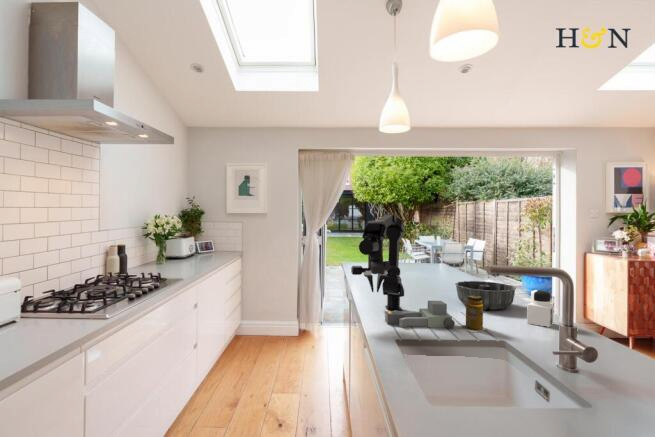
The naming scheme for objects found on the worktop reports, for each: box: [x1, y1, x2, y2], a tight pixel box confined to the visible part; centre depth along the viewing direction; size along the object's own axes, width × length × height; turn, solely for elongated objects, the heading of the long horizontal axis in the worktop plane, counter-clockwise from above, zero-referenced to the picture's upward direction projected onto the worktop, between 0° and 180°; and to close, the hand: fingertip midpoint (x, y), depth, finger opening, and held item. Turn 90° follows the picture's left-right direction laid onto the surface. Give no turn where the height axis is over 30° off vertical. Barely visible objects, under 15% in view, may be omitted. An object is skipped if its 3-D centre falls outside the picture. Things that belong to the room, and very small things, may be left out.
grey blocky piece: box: [398, 300, 456, 329], centre depth 137 cm, size 15×20×8 cm
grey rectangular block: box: [384, 310, 405, 325], centre depth 137 cm, size 4×7×4 cm, turn 93°
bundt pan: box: [454, 280, 517, 311], centre depth 165 cm, size 26×26×10 cm
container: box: [526, 289, 555, 327], centre depth 138 cm, size 8×8×13 cm
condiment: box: [457, 295, 489, 333], centre depth 131 cm, size 7×8×12 cm
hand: (375, 292), depth 137 cm, fingers closed
